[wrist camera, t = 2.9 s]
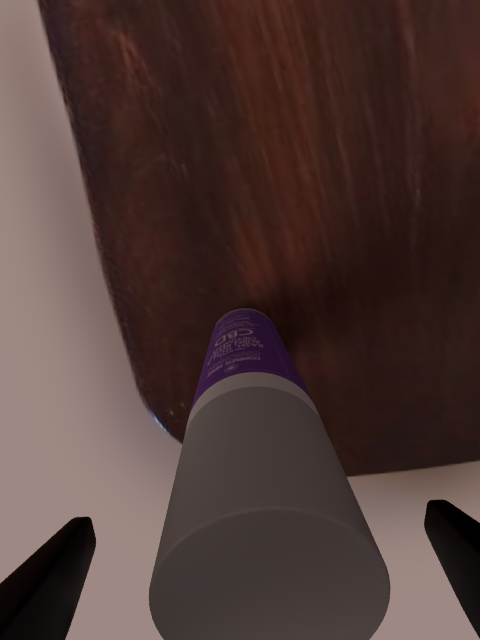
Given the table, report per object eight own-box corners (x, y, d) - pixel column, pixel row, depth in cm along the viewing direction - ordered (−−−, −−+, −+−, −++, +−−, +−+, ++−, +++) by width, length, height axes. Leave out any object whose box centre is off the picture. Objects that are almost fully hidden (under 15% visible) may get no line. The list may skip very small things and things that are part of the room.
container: (243, 293, 19) (268, 450, 4) (291, 338, 20) (451, 597, 5) (198, 341, 20) (88, 611, 5) (246, 382, 20) (271, 715, 6)
